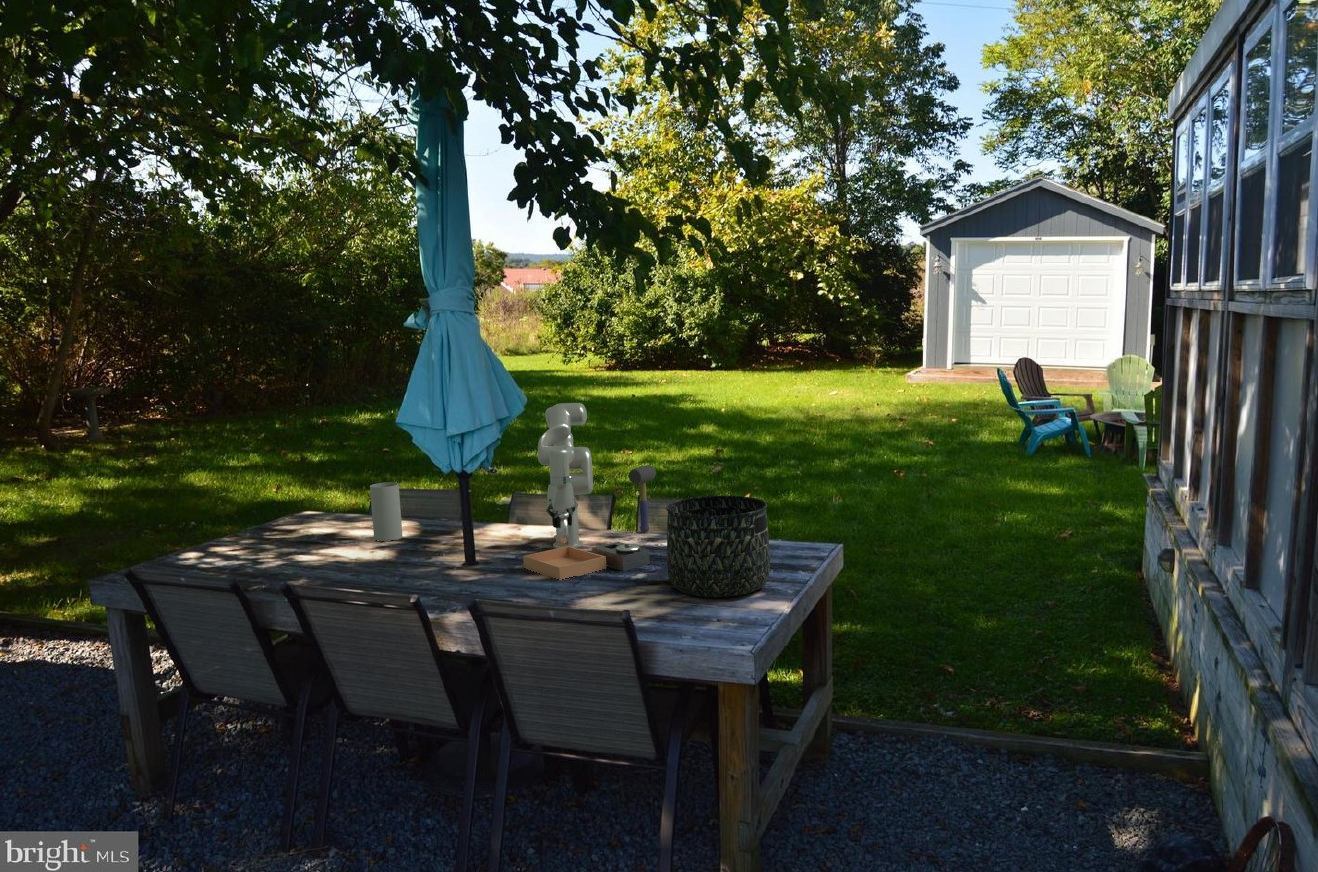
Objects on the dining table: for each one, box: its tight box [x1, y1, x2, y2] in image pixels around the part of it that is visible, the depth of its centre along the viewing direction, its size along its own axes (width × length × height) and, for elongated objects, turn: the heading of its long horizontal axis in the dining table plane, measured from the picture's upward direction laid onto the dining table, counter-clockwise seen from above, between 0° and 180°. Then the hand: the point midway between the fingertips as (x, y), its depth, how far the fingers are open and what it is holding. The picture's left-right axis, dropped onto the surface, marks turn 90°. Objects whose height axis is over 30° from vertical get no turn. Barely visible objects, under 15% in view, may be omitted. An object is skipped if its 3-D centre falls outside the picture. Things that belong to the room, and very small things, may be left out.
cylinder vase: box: [369, 481, 403, 542], centre depth 462 cm, size 12×12×25 cm
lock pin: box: [557, 512, 569, 546], centre depth 398 cm, size 5×5×12 cm
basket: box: [665, 494, 771, 598], centre depth 365 cm, size 37×37×30 cm
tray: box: [522, 546, 607, 581], centre depth 400 cm, size 26×22×5 cm
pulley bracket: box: [591, 541, 650, 572], centre depth 404 cm, size 20×13×8 cm, turn 39°
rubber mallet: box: [628, 464, 657, 534], centre depth 455 cm, size 12×8×30 cm, turn 146°
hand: (562, 525), depth 398 cm, fingers closed on lock pin, 5 cm apart
